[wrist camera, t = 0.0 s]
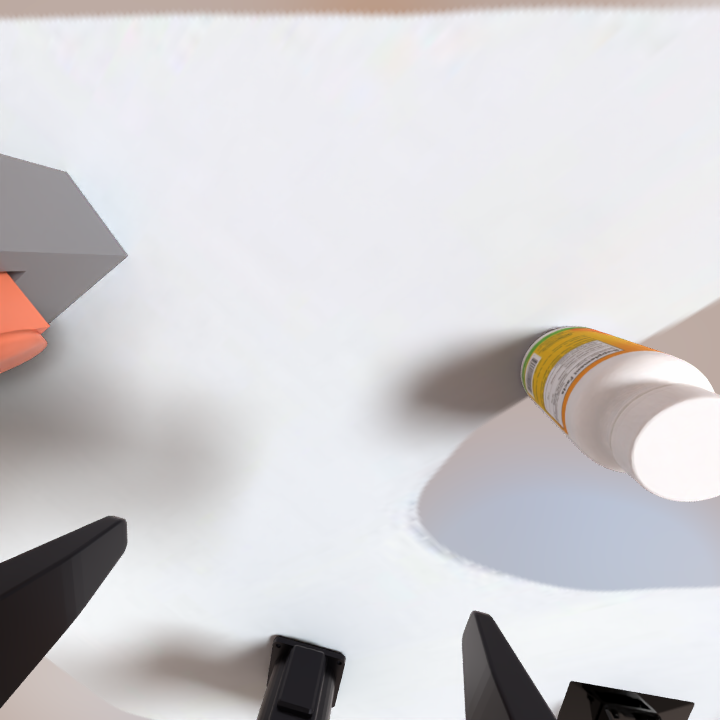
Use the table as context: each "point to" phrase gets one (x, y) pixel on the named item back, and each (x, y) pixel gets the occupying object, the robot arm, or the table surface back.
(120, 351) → the table surface
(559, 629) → the table surface
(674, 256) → the table surface
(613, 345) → the supplement bottle
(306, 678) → the robot arm
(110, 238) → the control box
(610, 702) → the black grooved cube
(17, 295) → the button red
